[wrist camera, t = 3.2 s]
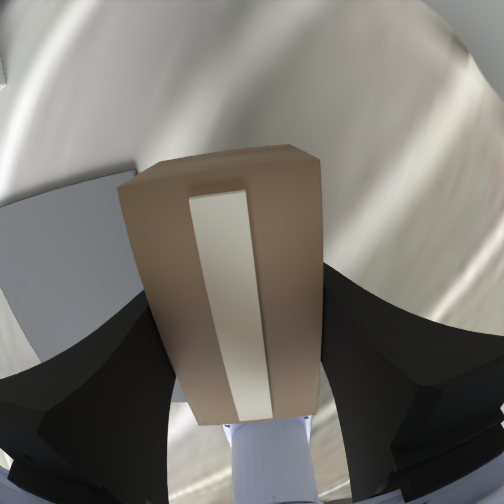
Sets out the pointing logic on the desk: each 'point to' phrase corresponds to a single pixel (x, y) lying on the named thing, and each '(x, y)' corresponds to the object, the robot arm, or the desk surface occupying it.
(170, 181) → the brown box with strip
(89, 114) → the desk surface
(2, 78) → the white cube
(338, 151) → the desk surface
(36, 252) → the rubber mat
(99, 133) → the desk surface
